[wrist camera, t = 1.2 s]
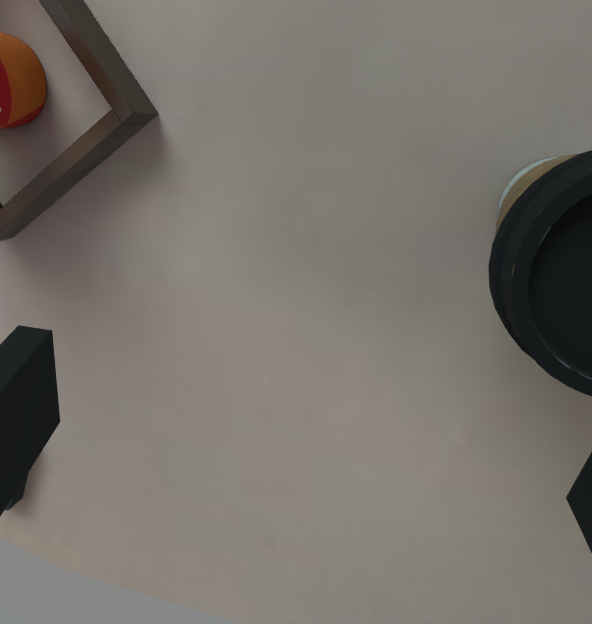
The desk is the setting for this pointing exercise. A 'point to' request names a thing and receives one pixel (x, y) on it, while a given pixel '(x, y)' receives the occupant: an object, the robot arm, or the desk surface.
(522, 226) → the coffee cup
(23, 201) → the desk tray
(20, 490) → the smart home device
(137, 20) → the desk surface
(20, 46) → the paper cup
